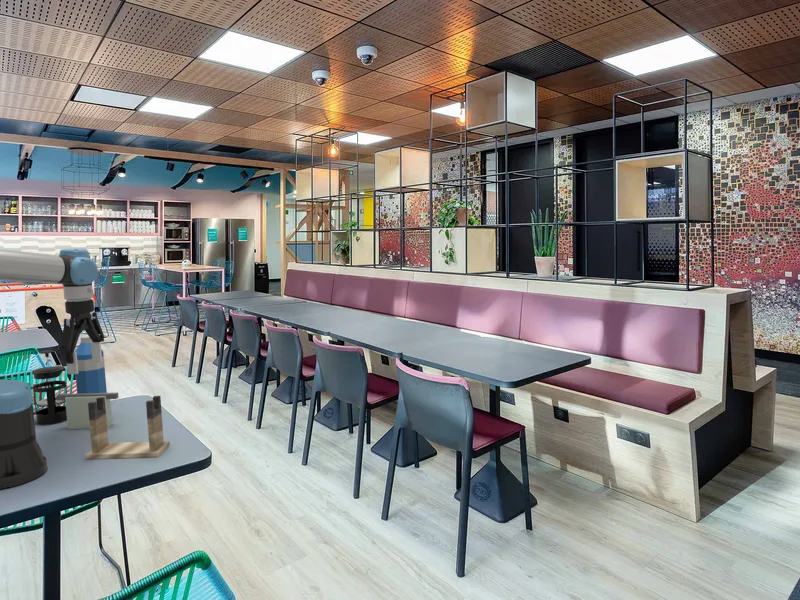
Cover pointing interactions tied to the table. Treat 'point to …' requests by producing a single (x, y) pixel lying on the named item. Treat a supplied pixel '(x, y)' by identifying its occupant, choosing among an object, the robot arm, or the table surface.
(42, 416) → the french press
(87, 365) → the water bottle
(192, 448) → the table surface
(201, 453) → the table surface
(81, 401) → the hanging file folder
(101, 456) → the hinge frame
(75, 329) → the robot arm
